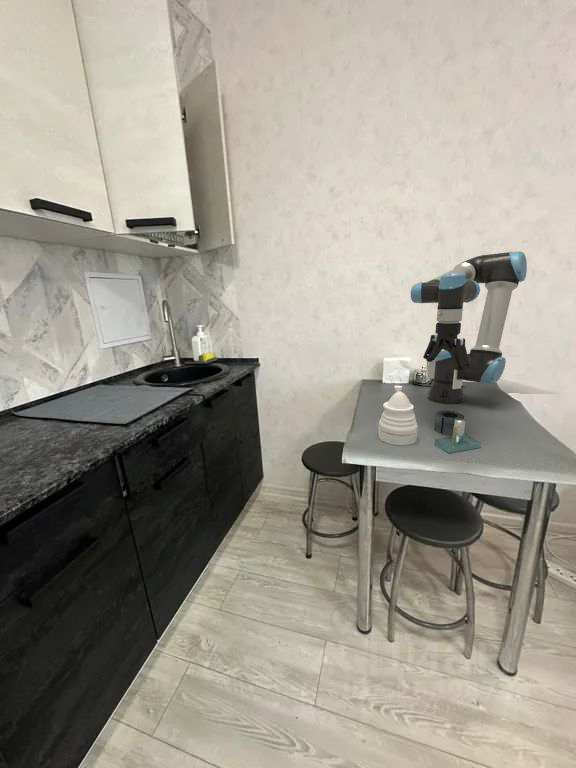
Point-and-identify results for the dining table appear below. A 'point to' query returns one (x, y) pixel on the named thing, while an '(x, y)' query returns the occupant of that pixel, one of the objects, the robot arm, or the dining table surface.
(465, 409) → the dining table surface
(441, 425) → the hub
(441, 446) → the teal two-tone fixture
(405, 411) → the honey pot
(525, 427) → the dining table surface
